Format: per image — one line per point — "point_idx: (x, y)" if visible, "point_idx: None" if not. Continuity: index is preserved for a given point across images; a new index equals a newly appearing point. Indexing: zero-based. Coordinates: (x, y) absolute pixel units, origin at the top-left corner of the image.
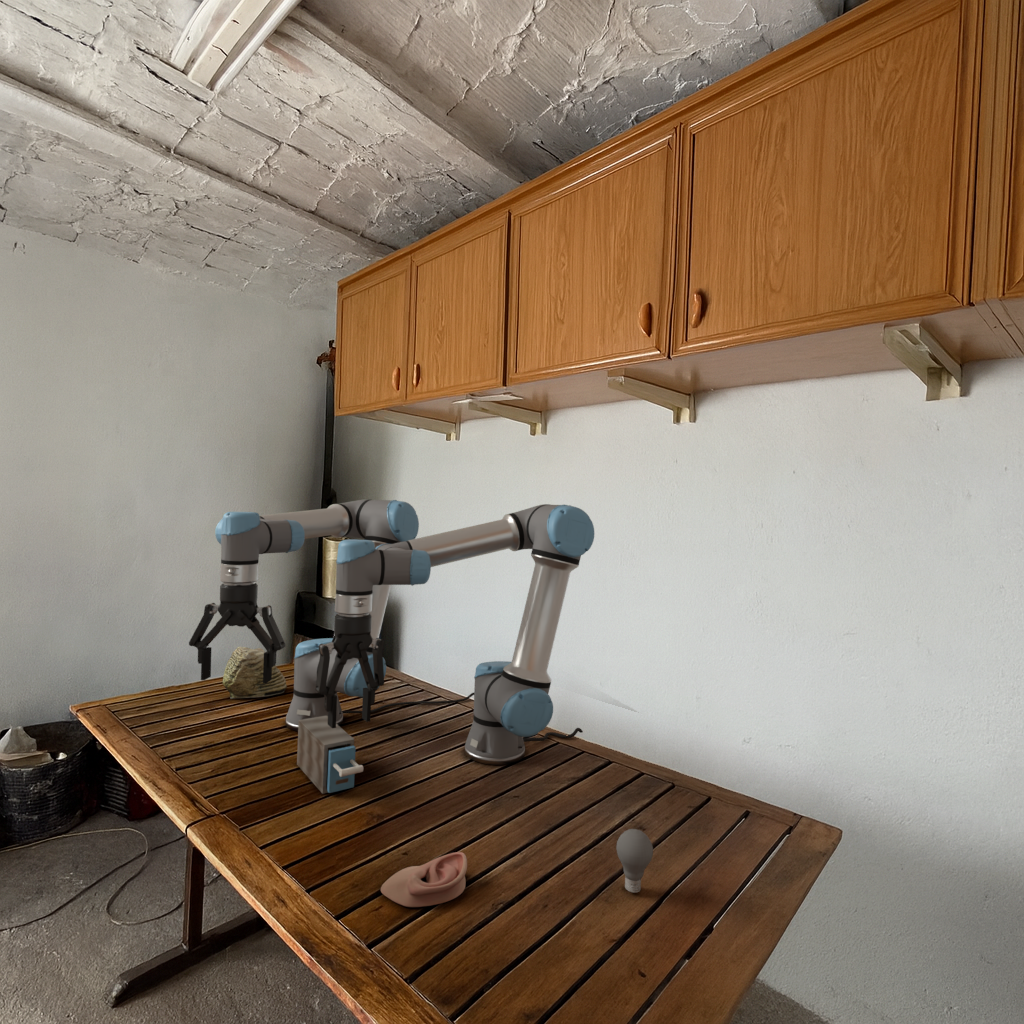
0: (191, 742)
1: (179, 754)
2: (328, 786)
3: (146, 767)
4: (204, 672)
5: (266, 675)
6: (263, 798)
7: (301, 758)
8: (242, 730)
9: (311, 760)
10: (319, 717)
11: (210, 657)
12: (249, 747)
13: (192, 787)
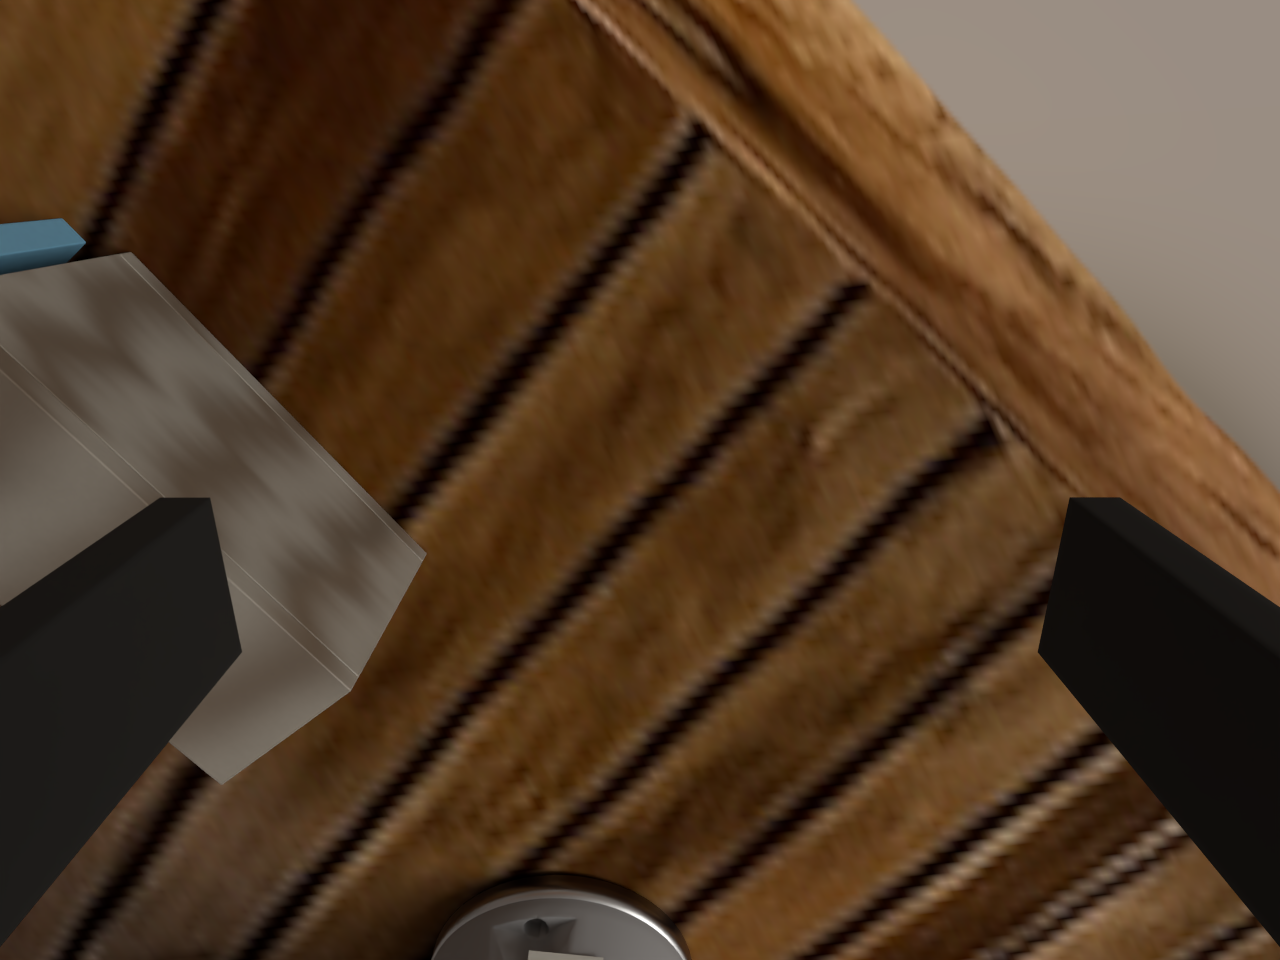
0: (1042, 717)
1: (1047, 589)
2: (51, 231)
3: (1153, 432)
4: (1134, 545)
5: (90, 548)
6: (401, 162)
7: (362, 529)
8: (855, 860)
9: (219, 424)
10: (244, 748)
11: (1223, 845)
12: (742, 700)
13: (823, 240)
